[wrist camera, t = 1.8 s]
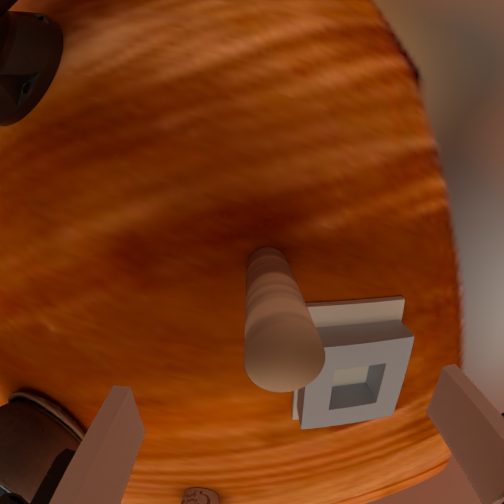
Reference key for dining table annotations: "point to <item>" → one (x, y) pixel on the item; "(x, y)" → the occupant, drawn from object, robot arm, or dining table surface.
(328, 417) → the socket
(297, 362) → the peg
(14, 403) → the potted plant
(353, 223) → the dining table surface
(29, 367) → the dining table surface
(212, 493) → the mug
